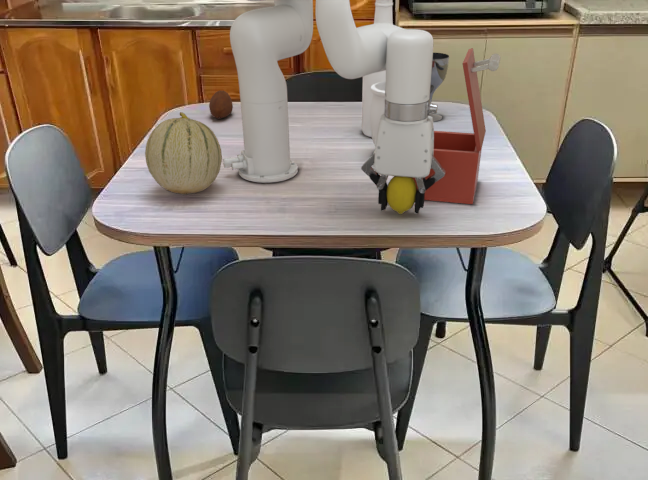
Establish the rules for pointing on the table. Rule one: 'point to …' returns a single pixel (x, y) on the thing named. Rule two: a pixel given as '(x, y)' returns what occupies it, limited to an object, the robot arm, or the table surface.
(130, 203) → the table surface
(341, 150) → the table surface
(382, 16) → the alcohol
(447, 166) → the bin
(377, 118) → the jar
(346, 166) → the table surface
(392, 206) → the lemon
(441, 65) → the wine glass
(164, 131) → the cantaloupe
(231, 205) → the table surface
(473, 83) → the bin lid
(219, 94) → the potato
